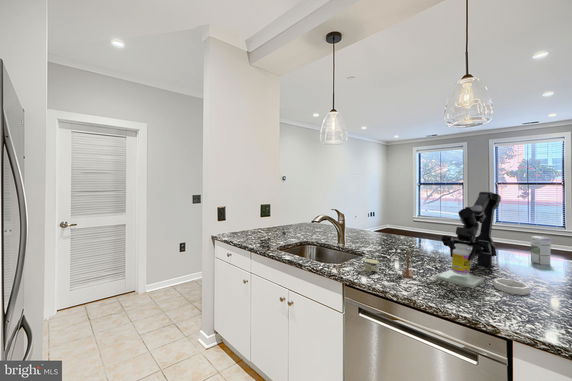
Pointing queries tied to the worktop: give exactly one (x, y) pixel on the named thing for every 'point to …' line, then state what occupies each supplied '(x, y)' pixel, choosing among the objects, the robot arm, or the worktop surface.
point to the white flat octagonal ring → (518, 286)
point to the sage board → (461, 279)
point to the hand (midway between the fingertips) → (459, 258)
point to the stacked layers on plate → (371, 265)
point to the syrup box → (540, 250)
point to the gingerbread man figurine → (406, 272)
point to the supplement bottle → (460, 259)
